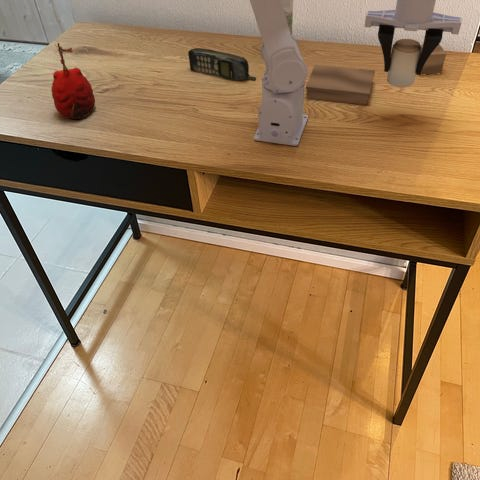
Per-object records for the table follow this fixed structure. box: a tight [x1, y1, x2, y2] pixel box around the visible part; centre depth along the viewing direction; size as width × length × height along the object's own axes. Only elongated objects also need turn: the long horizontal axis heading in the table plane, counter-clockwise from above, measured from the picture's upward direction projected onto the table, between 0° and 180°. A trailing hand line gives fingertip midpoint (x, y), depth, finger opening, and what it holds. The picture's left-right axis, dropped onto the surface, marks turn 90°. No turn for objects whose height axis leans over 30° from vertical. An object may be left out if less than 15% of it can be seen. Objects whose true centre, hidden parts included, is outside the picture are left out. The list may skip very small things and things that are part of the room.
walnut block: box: [419, 43, 447, 76], centre depth 103 cm, size 4×4×4 cm
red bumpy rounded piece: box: [50, 42, 96, 120], centre depth 93 cm, size 8×7×15 cm
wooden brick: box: [305, 64, 376, 106], centre depth 99 cm, size 9×12×2 cm
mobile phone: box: [187, 47, 257, 81], centre depth 105 cm, size 5×3×15 cm
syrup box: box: [281, 0, 294, 36], centre depth 108 cm, size 6×6×14 cm
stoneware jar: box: [386, 38, 421, 88], centre depth 85 cm, size 5×5×6 cm
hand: (402, 70), depth 86 cm, fingers closed on stoneware jar, 5 cm apart
